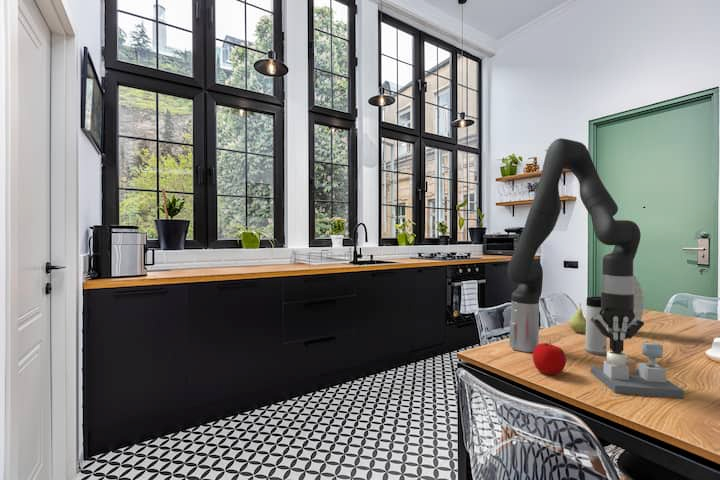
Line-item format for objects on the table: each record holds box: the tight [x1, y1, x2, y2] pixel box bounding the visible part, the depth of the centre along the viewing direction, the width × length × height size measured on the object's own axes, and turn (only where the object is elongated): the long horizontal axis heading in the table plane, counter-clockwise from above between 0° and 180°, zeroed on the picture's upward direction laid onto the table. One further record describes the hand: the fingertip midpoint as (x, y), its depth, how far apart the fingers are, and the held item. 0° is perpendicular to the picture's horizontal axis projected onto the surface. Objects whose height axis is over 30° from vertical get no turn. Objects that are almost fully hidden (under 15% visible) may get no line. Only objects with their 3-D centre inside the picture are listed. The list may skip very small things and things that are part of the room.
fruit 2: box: [569, 303, 586, 334], centre depth 154 cm, size 7×8×12 cm
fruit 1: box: [532, 339, 567, 376], centre depth 109 cm, size 9×9×10 cm
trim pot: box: [626, 354, 637, 374], centre depth 105 cm, size 3×3×5 cm
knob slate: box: [641, 341, 664, 368], centre depth 100 cm, size 4×4×6 cm
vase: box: [627, 273, 645, 328], centre depth 154 cm, size 13×13×28 cm
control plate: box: [590, 360, 685, 399], centre depth 101 cm, size 16×14×6 cm
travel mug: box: [585, 296, 608, 356], centre depth 128 cm, size 6×7×20 cm
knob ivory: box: [606, 350, 627, 367], centre depth 101 cm, size 4×4×6 cm
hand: (616, 352), depth 101 cm, fingers closed
